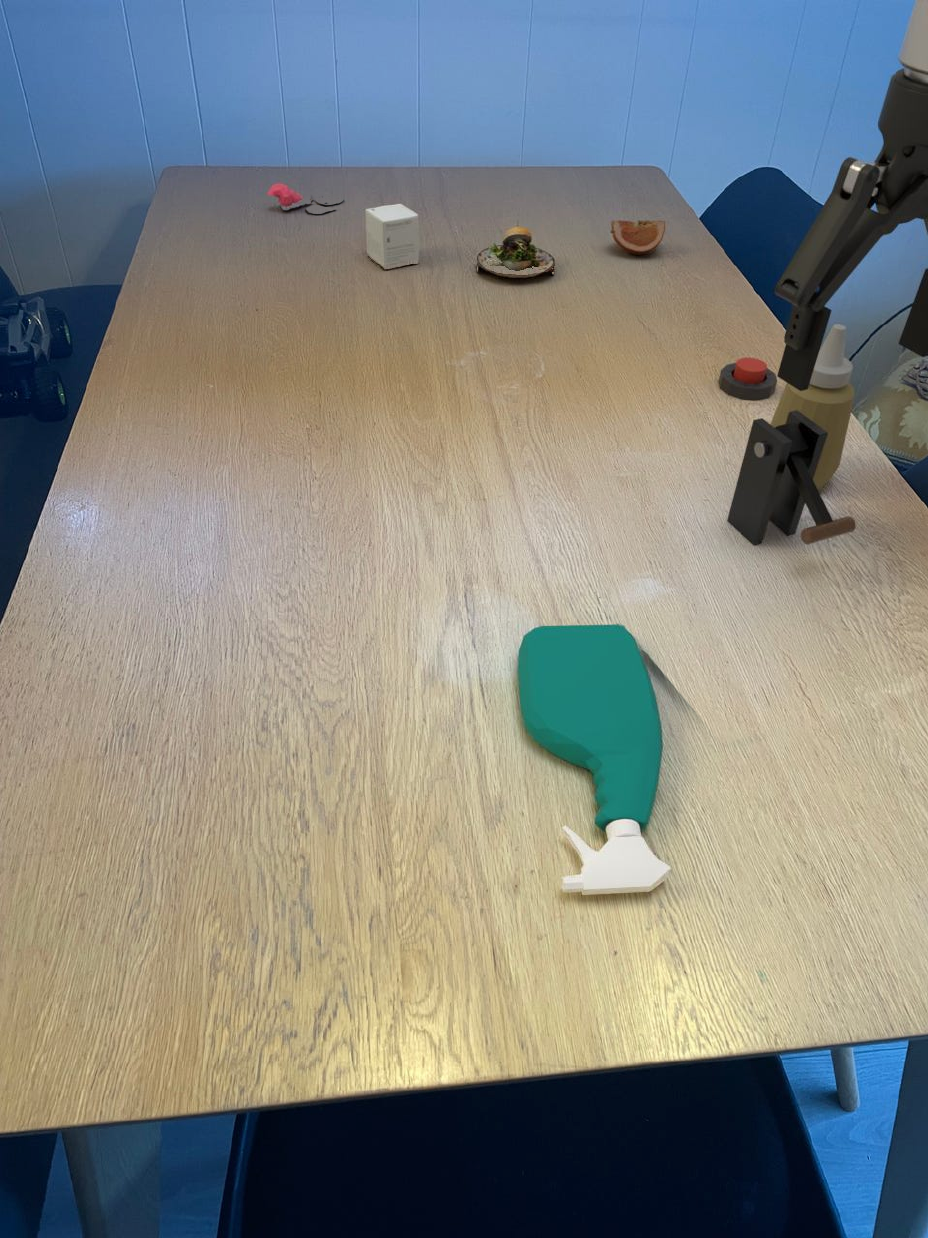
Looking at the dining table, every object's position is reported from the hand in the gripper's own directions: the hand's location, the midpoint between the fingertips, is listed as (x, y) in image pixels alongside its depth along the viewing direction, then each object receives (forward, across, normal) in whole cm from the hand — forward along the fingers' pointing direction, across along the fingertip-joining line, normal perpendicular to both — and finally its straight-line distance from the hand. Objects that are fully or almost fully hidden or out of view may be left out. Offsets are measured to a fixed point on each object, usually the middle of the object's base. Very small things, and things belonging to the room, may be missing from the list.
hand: (854, 366), depth 77 cm
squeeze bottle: (+21, -9, -10) cm, 24 cm away
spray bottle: (+21, +31, +12) cm, 39 cm away
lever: (+13, +1, -1) cm, 13 cm away
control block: (+20, -17, -25) cm, 36 cm away
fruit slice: (+21, -32, -71) cm, 80 cm away
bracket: (+20, +1, -4) cm, 21 cm away
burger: (+21, -11, -72) cm, 76 cm away
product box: (+21, +4, -83) cm, 86 cm away
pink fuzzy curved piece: (+21, +7, -112) cm, 114 cm away
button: (+18, -17, -27) cm, 36 cm away
